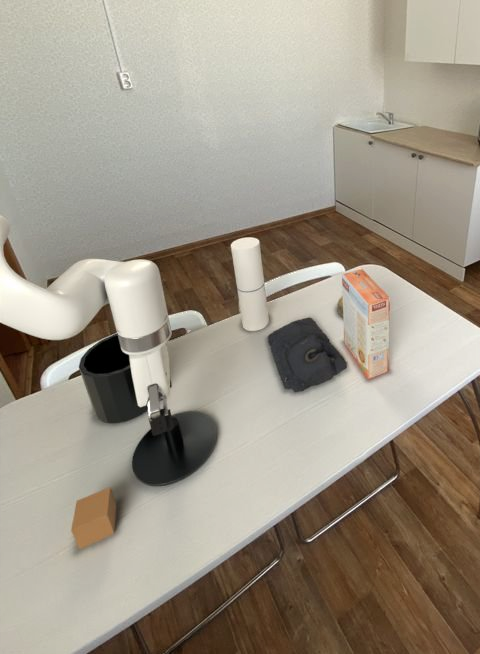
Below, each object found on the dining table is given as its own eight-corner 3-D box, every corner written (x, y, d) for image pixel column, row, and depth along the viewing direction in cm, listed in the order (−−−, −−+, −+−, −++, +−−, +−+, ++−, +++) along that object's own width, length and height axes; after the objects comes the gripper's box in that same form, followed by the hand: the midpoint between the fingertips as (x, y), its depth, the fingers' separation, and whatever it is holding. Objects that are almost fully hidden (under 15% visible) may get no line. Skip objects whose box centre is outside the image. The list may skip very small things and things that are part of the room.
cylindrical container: (237, 329, 105) (225, 248, 96) (250, 313, 112) (240, 236, 103) (261, 333, 104) (250, 251, 95) (273, 316, 110) (264, 238, 101)
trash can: (90, 434, 76) (73, 386, 72) (99, 385, 88) (85, 341, 83) (166, 407, 82) (154, 361, 77) (165, 365, 93) (154, 323, 89)
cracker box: (390, 372, 90) (391, 297, 83) (367, 381, 88) (366, 304, 80) (364, 335, 102) (363, 267, 95) (343, 342, 99) (340, 273, 92)
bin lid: (131, 505, 64) (121, 477, 62) (135, 433, 76) (127, 408, 74) (221, 465, 70) (216, 438, 68) (212, 404, 82) (207, 380, 80)
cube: (79, 549, 58) (70, 530, 57) (84, 519, 62) (76, 500, 60) (114, 533, 60) (107, 514, 58) (117, 505, 64) (110, 486, 62)
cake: (331, 317, 110) (329, 301, 109) (346, 298, 119) (345, 283, 117) (362, 324, 106) (360, 307, 104) (376, 304, 114) (374, 288, 113)
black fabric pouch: (318, 319, 108) (317, 305, 107) (350, 373, 90) (350, 357, 88) (264, 336, 102) (262, 322, 101) (287, 398, 84) (285, 381, 82)
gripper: (123, 309, 69) (141, 382, 75) (114, 376, 55) (137, 460, 61) (168, 298, 72) (182, 369, 78) (171, 359, 58) (188, 440, 64)
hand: (163, 409), depth 69 cm, fingers open, 9 cm apart
